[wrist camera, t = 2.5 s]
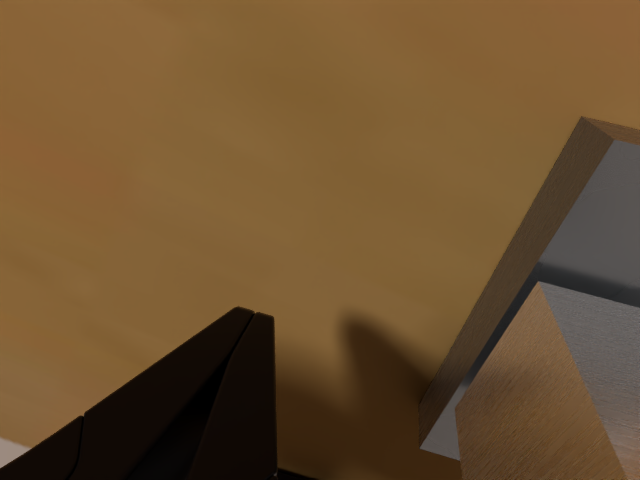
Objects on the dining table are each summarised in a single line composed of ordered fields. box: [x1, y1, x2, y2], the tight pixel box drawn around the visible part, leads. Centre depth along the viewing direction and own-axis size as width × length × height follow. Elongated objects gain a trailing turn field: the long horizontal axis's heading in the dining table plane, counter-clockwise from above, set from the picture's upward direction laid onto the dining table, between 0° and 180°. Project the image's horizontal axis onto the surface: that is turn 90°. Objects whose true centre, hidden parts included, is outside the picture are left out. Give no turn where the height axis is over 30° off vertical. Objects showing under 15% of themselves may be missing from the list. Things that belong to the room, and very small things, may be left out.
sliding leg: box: [455, 281, 640, 480], centre depth 7 cm, size 4×3×4 cm
